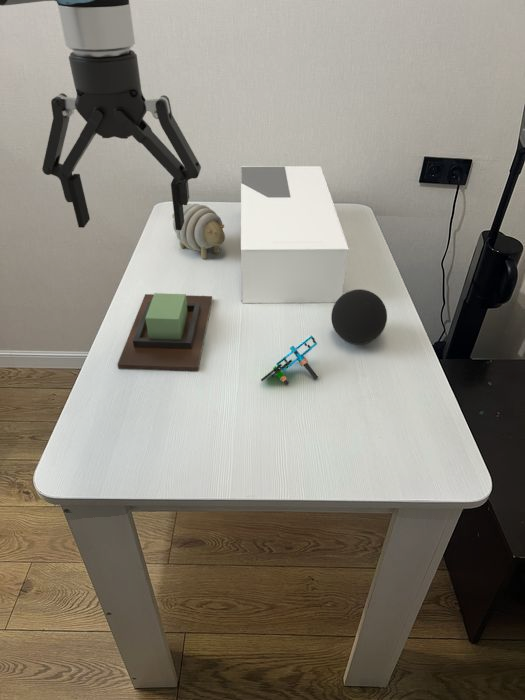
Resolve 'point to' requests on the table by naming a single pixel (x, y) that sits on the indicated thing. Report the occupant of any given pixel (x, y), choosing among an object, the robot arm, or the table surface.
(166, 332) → the green rectangular block
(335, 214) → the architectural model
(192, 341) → the back board
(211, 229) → the toy sheep
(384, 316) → the speaker
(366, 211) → the table surface
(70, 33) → the robot arm
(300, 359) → the stick construction toy
